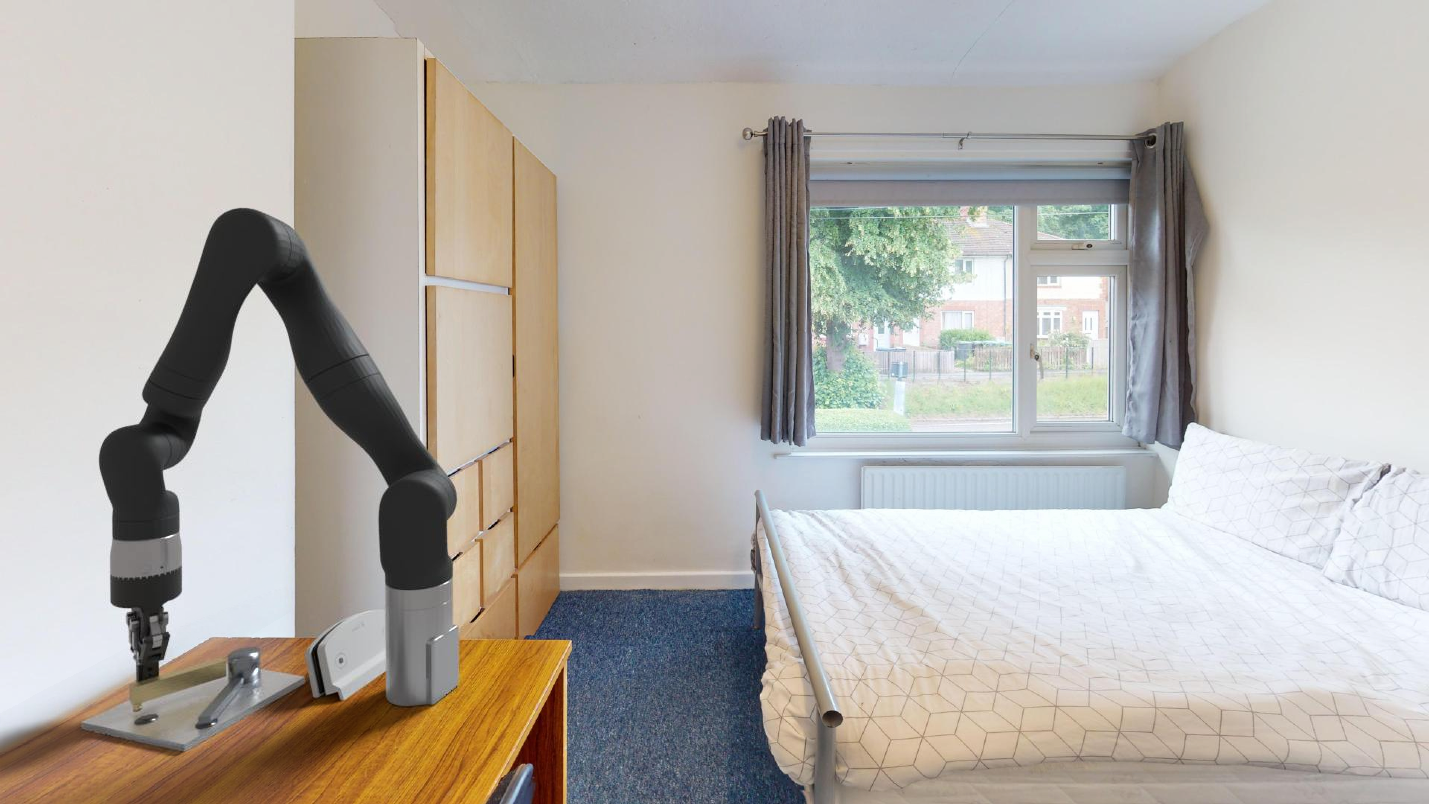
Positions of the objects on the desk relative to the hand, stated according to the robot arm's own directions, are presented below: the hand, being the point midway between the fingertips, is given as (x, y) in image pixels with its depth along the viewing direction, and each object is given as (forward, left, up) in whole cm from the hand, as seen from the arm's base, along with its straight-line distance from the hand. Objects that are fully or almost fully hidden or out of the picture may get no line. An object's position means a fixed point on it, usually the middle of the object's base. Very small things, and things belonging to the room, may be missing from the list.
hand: (147, 686), depth 91 cm
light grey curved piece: (-20, -17, -4) cm, 26 cm away
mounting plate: (-6, -3, -3) cm, 7 cm away
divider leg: (-4, -2, -2) cm, 4 cm away
